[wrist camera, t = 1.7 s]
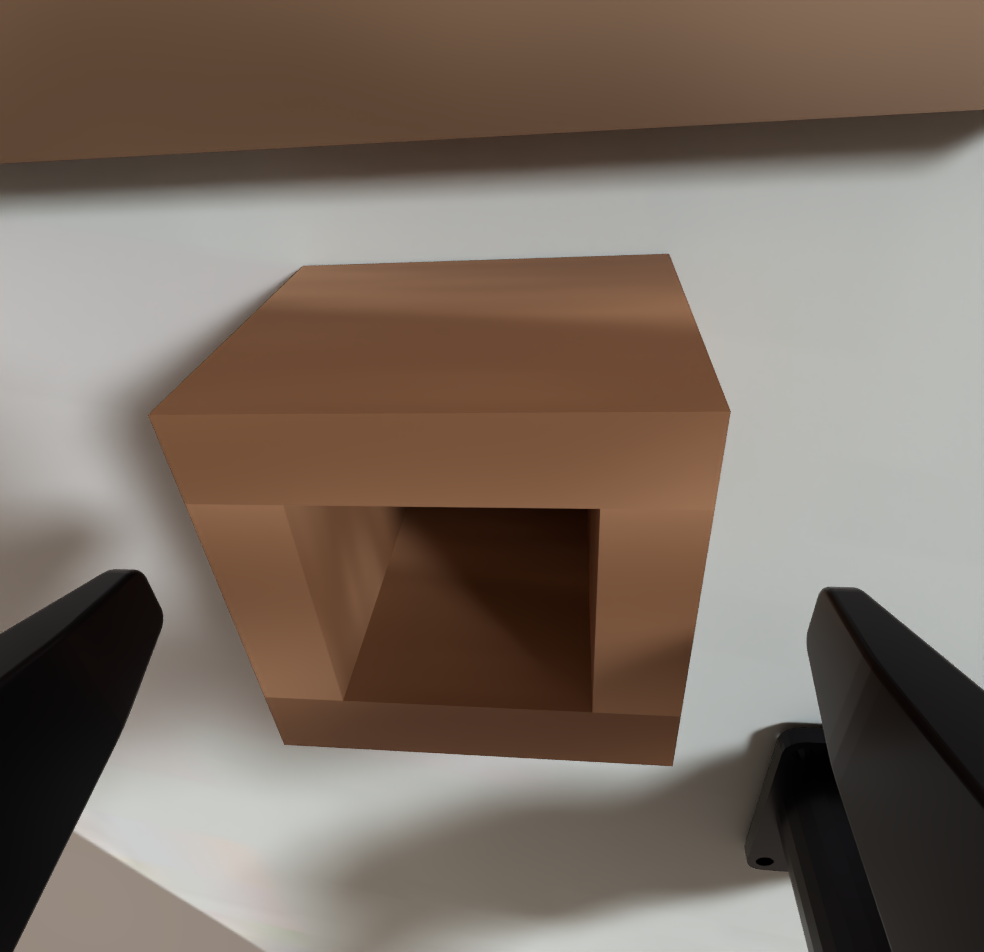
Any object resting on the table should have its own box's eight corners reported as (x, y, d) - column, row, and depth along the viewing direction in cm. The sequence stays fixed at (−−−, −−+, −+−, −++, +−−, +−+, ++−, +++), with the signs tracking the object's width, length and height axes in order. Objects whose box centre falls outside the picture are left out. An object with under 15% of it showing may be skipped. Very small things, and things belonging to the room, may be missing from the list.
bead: (643, 543, 14) (672, 766, 10) (364, 538, 15) (284, 744, 10) (669, 254, 10) (730, 411, 6) (303, 265, 11) (147, 415, 7)
